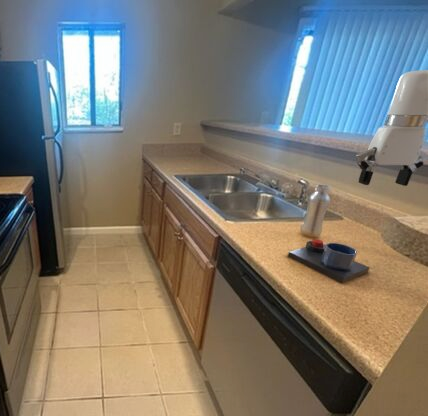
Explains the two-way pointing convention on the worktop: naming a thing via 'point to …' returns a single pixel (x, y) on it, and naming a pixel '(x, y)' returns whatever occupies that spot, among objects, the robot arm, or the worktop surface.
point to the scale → (313, 260)
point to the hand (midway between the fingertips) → (381, 184)
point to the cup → (338, 256)
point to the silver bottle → (316, 211)
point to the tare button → (317, 243)
